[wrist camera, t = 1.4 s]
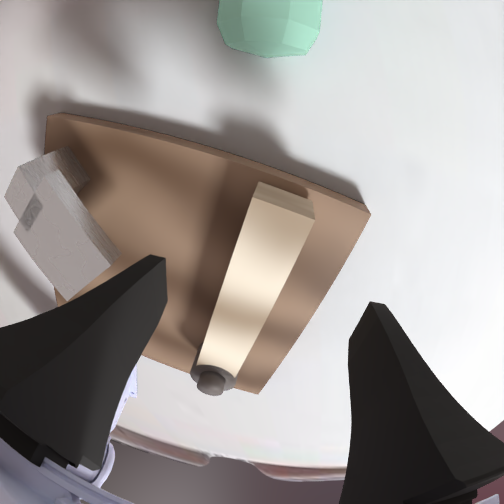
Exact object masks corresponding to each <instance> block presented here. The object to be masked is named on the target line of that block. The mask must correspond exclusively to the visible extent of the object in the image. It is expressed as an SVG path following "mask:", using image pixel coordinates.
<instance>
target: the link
mask: <svg viewBox="0 0 504 504" xmlns="http://www.w3.org/2000/svg"><path fill="white" fill-rule="evenodd" d="M314 222H315V216H314V209H313V203H312V201H311V200H308V199H306V198H303V197H301V196H298V195H295V194H293V193H290V192H287V191H285V190H282V189H279V188H276V187H274V186H271V185H268V184H265V183H262V182H260V181H259V182H258V185H257V187H256V189H255V192H254V194H253V197H252V200H251V203H250V206H249V208H248V211H247V214H246V217H245V220H244V223H243V226H242V229H241V232H240V235H239V237H238V240H237V243H236V246H235V249H234V252H233V255H232V258H231V261H230V264H229V267H228V270H227V273H226V276H225V279H224V282H223V285H222V288H221V291H220V294H219V297H218V300H217V303H216V306H215V309H214V312H213V315H212V318H211V321H210V324H209V327H208V330H207V334H206V337H205V340H204V342H203V343H201V344H200V346H199V348H198V351H197V354H196V356H195V359H194V362H193V365H192V368H191V371H190V375H191V377H192V379H193V380H194V381H195V382H196V383H197V388H198V389H199V390H200V391H201V392H203V393H205V394H208V395H212V396H218V395H221V394H222V393H223V391H225V390H230V389H232V388H233V387H234V386H235V385H236V381H237V376H238V372H239V370H240V368H241V366H242V364H243V362H244V361H245V359H246V357H247V355H248V353H249V351H250V350H251V348H252V346H253V344H254V342H255V340H256V338H257V336H258V334H259V333H260V331H261V329H262V327H263V325H264V323H265V321H266V319H267V317H268V315H269V313H270V311H271V310H272V308H273V306H274V304H275V302H276V300H277V298H278V296H279V294H280V292H281V290H282V288H283V286H284V284H285V282H286V280H287V278H288V276H289V274H290V272H291V270H292V268H293V266H294V264H295V262H296V259H297V257H298V255H299V253H300V251H301V249H302V247H303V245H304V243H305V241H306V239H307V237H308V234H309V232H310V230H311V228H312V226H313V224H314Z"/></svg>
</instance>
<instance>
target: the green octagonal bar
mask: <svg viewBox="0 0 504 504" xmlns="http://www.w3.org/2000/svg"><path fill="white" fill-rule="evenodd" d="M321 11H322V0H220V1H219V8H218V17H217V25H218V28H219V30H220V32H221V35H222V37H223V40H224V42H225V44H226V45H227V46H229V47H230V48H232V49H236V50H240V51H243V52H247V53H251V54H254V55H258V56H261V57H264V58H271V57H282V56H297V55H306V54H307V52H308V51H309V49H310V48H311V46H312V45H313V43H314V42H315V40H316V39H317V36H318V34H319V31H320V22H321Z"/></svg>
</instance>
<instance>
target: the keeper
mask: <svg viewBox="0 0 504 504" xmlns="http://www.w3.org/2000/svg"><path fill="white" fill-rule="evenodd" d="M90 179H91V178H90V177H89V175H88V174H87V172H86V171H85V169H84V168H83V167H82V165H81V164H80V162H79V161H78V159H77V158H76V157H75V155H74V154H73V152H72V151H71V149H70V148H69V146H66V147H63V148H61V149H58V150H56V151H53V152H51V153H48V154H46V155H43V156H41V157H39V158H36V159H34V160H32V161H29V162H27V163H25V164H23V165H21V166H18V168H17V170H16V172H15V174H14V176H13V178H12V180H11V183H10V185H9V187H8V189H7V192H6V194H5V196H4V197H5V199H6V200H7V202H8V204H9V205H10V207H11V209H12V210H13V212H14V213H15V215H16V216H17V218H18V219H19V222H18V224H17V226H16V228H15V230H14V234H15V235H16V237H17V238H18V240H19V241H20V243H21V244H22V245H23V247H24V248H25V250H26V251H27V252H28V254H29V255H30V256H31V258H32V259H33V260H34V262H35V263H36V264H37V266H38V267H39V268H40V270H41V271H42V272H43V273H44V275H45V276H46V277H47V278H48V280H49V281H50V282H51V283H52V284H53V286H54V287H55V288H56V289H57V290H58V292H59V293H60V294H61V295H62V296H63V297H64V298H65V300H66V301H68V300H69V299H71V298H72V297H73V296H74V295H75V294H77V293H78V292H79V291H80V290H81V289H82V288H84V287H85V286H86V285H87V284H89V283H90V282H91V281H92V280H93V279H95V278H96V277H97V276H98V275H100V274H101V273H102V272H103V271H105V270H106V269H107V268H108V267H110V266H111V265H112V264H113V263H114V262H115V261H116V259H117V258H118V257H119V256H120V255H121V254H122V253H121V252H120V250H119V249H118V248H117V247H116V246H115V244H114V243H113V242H112V241H111V239H110V238H109V237H108V236H107V234H106V233H105V232H104V231H103V229H102V228H101V227H100V225H99V224H98V223H97V222H96V220H95V219H94V218H93V216H92V215H91V214H90V212H89V211H88V210H87V208H86V207H85V206H84V204H83V203H82V202H81V200H80V199H79V197H78V196H77V194H78V193H79V192H80V191H81V190H82V188H83V187H84V186H85V185H86V184H87V182H88V181H89V180H90Z"/></svg>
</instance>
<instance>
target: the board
mask: <svg viewBox="0 0 504 504" xmlns="http://www.w3.org/2000/svg"><path fill="white" fill-rule="evenodd" d="M66 146H69V148H70V149H71V151H72V152H73V154H74V155H75V157H76V158H77V159H78V161H79V162H80V164H81V165H82V167H83V168H84V169H85V171H86V172H87V174H88V175H89V177H90V178H91V179H90V180H89V181H88V182H87V184H86V185H85V186H84V187H83V188H82V190H81V191H80V192H79V193H78V194H77V196H78V197H79V199H80V200H81V202H82V203H83V204H84V206H85V207H86V208H87V210H88V211H89V212H90V214H91V215H92V216H93V218H94V219H95V220H96V222H97V223H98V224H99V225H100V227H101V228H102V229H103V231H104V232H105V233H106V234H107V236H108V237H109V238H110V239H111V241H112V242H113V243H114V244H115V246H116V247H117V248H118V249H119V250H120V252H121V253H122V254H121V255H120V256H119V257H118V258H117V259H116V261H115V262H114V263H113V264H112V265H111V266H110V267H108V268H107V269H106V270H105V271H103V272H102V273H101V274H100V275H98V276H97V277H96V278H95V279H93V280H92V281H91V282H90V283H89V284H87V285H86V286H85V287H84V288H82V289H81V290H80V291H79V292H78V293H77V294H75V295H74V296H73V297H72V298H71V299H69V300H68V301H66V300H65V298H64V297H63V296H62V295H61V294H60V293H59V292H58V290H57V289H56V288H55V287H54V290H55V295H56V300H57V305H58V307H59V306H61V305H64V304H66V303H68V302H70V301H72V300H74V299H76V298H78V297H79V296H81V295H83V294H85V293H86V292H88V291H90V290H92V289H93V288H95V287H97V286H99V285H100V284H102V283H104V282H106V281H107V280H109V279H110V278H112V277H114V276H115V275H117V274H118V273H120V272H122V271H123V270H125V269H127V268H128V267H130V266H131V265H133V264H135V263H136V262H138V261H139V260H141V259H143V258H144V257H146V256H148V255H150V254H152V255H156V256H160V257H164V258H166V277H167V295H168V302H167V304H166V307H165V309H164V312H163V314H162V317H161V319H160V321H159V324H158V326H157V327H156V329H155V331H154V333H153V335H152V336H151V338H150V340H149V342H148V344H147V345H146V347H145V349H144V351H143V352H142V354H141V355H143V356H145V357H147V358H150V359H152V360H155V361H157V362H160V363H162V364H165V365H168V366H170V367H173V368H176V369H178V370H181V371H184V372H187V373H189V374H190V371H191V368H192V365H193V362H194V359H195V356H196V354H197V351H198V348H199V346H200V344H201V343H203V342H204V340H205V337H206V334H207V330H208V327H209V324H210V321H211V318H212V315H213V312H214V309H215V306H216V303H217V300H218V297H219V294H220V291H221V288H222V285H223V282H224V279H225V276H226V273H227V270H228V267H229V264H230V261H231V258H232V255H233V252H234V249H235V246H236V243H237V240H238V237H239V235H240V232H241V229H242V226H243V223H244V220H245V217H246V214H247V211H248V208H249V206H250V203H251V200H252V197H253V194H254V192H255V189H256V187H257V185H258V182H259V181H260V182H262V183H265V184H268V185H271V186H274V187H276V188H279V189H282V190H285V191H287V192H290V193H293V194H295V195H298V196H301V197H303V198H306V199H308V200H311V201H312V203H313V209H314V216H315V222H314V224H313V226H312V228H311V230H310V232H309V234H308V237H307V239H306V241H305V243H304V245H303V247H302V249H301V251H300V253H299V255H298V257H297V259H296V262H295V264H294V266H293V268H292V270H291V272H290V274H289V276H288V278H287V280H286V282H285V284H284V286H283V288H282V290H281V292H280V294H279V296H278V298H277V300H276V302H275V304H274V306H273V308H272V310H271V311H270V313H269V315H268V317H267V319H266V321H265V323H264V325H263V327H262V329H261V331H260V333H259V334H258V336H257V338H256V340H255V342H254V344H253V346H252V348H251V350H250V351H249V353H248V355H247V357H246V359H245V361H244V362H243V364H242V366H241V368H240V370H239V372H238V376H237V381H236V385H235V386H234V387H233V388H236V389H240V390H243V391H247V392H251V393H254V394H259V392H260V391H261V390H262V388H263V387H264V386H265V384H266V383H267V382H268V380H269V379H270V378H271V376H272V375H273V373H274V372H275V371H276V369H277V368H278V366H279V365H280V364H281V362H282V361H283V359H284V358H285V356H286V355H287V354H288V352H289V351H290V349H291V348H292V346H293V345H294V343H295V342H296V340H297V339H298V337H299V336H300V334H301V333H302V331H303V330H304V328H305V327H306V325H307V324H308V322H309V321H310V319H311V317H312V316H313V314H314V313H315V311H316V310H317V308H318V306H319V305H320V303H321V302H322V300H323V298H324V297H325V295H326V294H327V292H328V290H329V289H330V287H331V285H332V284H333V282H334V280H335V279H336V277H337V275H338V274H339V272H340V270H341V269H342V267H343V265H344V263H345V262H346V260H347V258H348V256H349V255H350V253H351V251H352V249H353V247H354V246H355V244H356V242H357V240H358V238H359V237H360V235H361V233H362V231H363V229H364V227H365V225H366V224H367V222H368V220H369V218H370V216H371V213H370V212H369V210H368V208H367V207H366V205H365V204H362V203H360V202H358V201H356V200H353V199H351V198H349V197H346V196H344V195H342V194H339V193H337V192H334V191H332V190H330V189H327V188H325V187H322V186H320V185H317V184H315V183H312V182H310V181H307V180H305V179H302V178H299V177H297V176H294V175H292V174H289V173H286V172H283V171H281V170H278V169H275V168H272V167H270V166H267V165H264V164H261V163H258V162H255V161H252V160H249V159H246V158H243V157H240V156H237V155H234V154H231V153H228V152H225V151H222V150H218V149H215V148H212V147H208V146H205V145H202V144H198V143H195V142H191V141H188V140H184V139H181V138H177V137H173V136H169V135H166V134H162V133H158V132H154V131H150V130H146V129H141V128H137V127H133V126H128V125H124V124H119V123H115V122H110V121H105V120H100V119H95V118H89V117H84V116H78V115H72V114H66V113H57V114H53V115H49V116H47V124H46V135H45V151H44V155H46V154H48V153H51V152H53V151H56V150H58V149H61V148H63V147H66Z"/></svg>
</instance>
